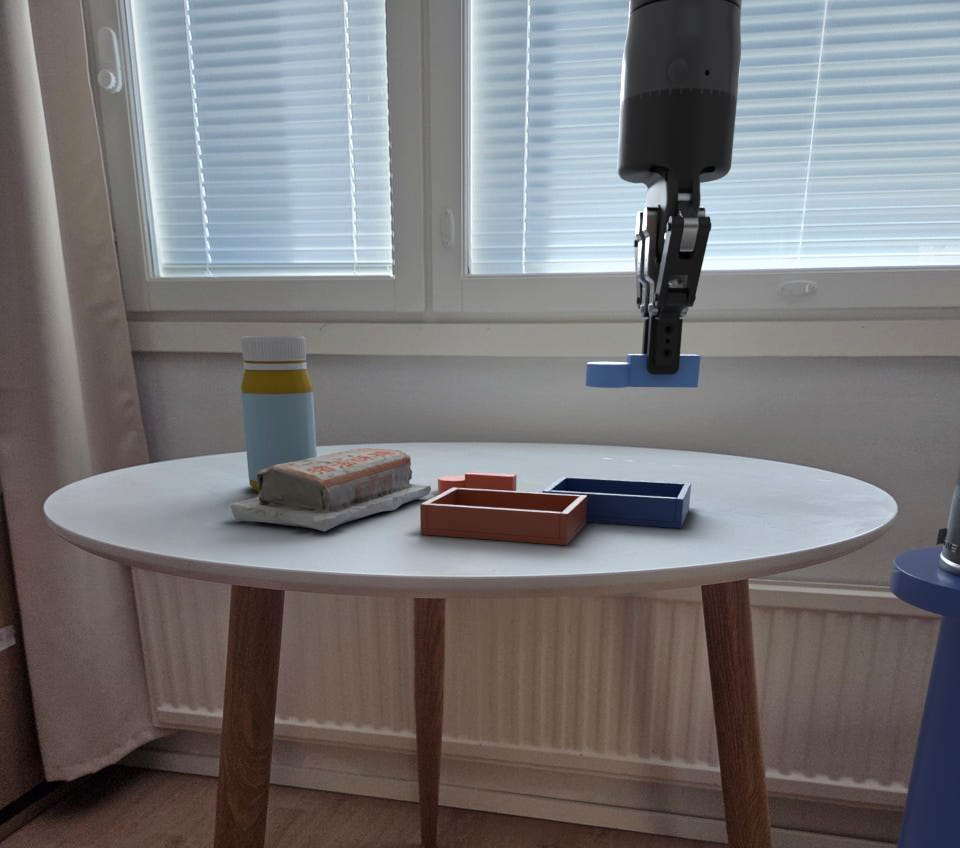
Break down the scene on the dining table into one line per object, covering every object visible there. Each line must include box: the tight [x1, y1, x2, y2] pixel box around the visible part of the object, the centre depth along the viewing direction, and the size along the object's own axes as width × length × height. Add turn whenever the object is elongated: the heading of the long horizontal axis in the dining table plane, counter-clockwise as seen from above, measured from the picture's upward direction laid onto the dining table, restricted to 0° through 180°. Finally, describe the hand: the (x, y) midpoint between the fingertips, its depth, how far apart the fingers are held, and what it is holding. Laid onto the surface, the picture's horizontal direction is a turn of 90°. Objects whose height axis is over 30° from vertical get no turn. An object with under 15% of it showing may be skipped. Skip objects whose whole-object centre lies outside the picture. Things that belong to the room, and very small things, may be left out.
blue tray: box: [541, 476, 692, 529], centre depth 79 cm, size 12×8×2 cm
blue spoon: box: [585, 353, 701, 389], centre depth 63 cm, size 8×3×2 cm, turn 91°
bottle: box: [240, 335, 318, 493], centre depth 88 cm, size 7×7×15 cm
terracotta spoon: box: [437, 471, 517, 495], centre depth 87 cm, size 8×3×2 cm, turn 73°
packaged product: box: [230, 447, 432, 532], centre depth 80 cm, size 18×5×10 cm
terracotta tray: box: [419, 488, 587, 546], centre depth 73 cm, size 12×8×2 cm
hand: (659, 372), depth 63 cm, fingers closed on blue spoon, 1 cm apart
